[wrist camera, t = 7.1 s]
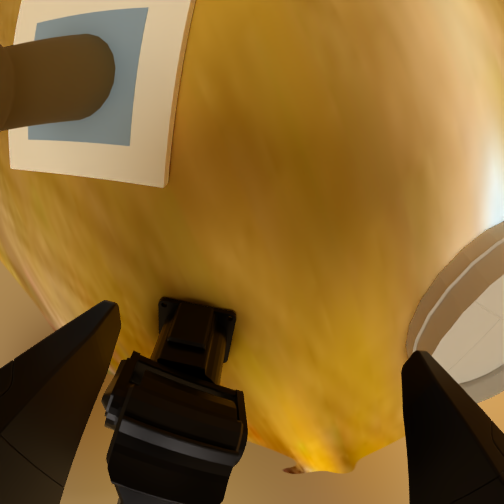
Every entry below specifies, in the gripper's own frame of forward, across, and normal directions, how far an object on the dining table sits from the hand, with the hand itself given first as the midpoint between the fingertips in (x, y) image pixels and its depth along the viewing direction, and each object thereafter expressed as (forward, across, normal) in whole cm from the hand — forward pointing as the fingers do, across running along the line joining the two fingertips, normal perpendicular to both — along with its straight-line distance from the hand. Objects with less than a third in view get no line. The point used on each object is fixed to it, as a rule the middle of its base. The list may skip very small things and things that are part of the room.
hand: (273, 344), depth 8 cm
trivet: (+13, +14, -6) cm, 20 cm away
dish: (+14, -26, +7) cm, 30 cm away
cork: (+12, +14, -6) cm, 19 cm away
